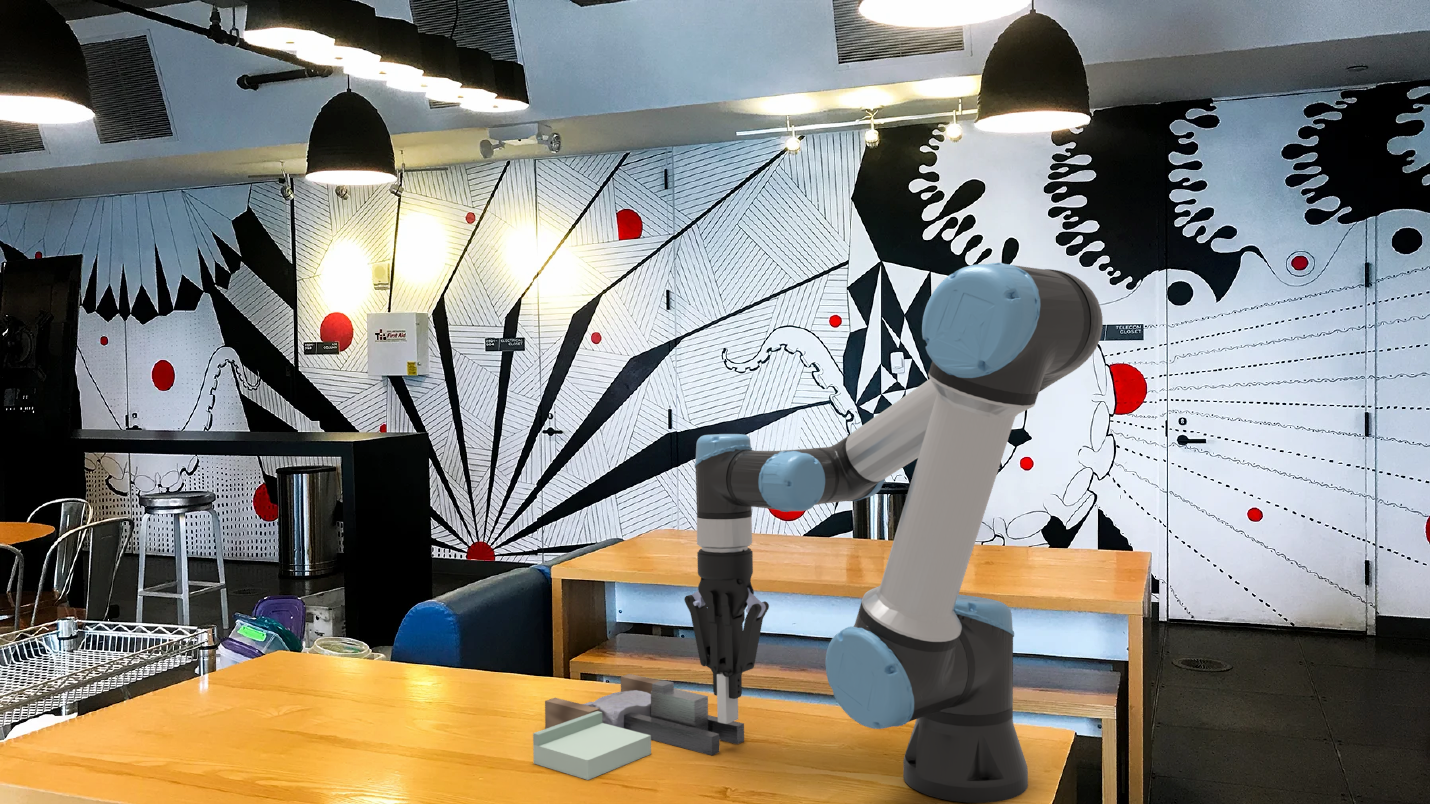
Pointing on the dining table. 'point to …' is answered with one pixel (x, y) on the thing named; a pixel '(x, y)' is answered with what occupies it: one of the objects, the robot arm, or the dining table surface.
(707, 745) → the guide
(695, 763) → the dining table surface
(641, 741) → the pale green ledge block
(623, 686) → the brown piece
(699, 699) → the grey metal block
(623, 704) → the stone block
